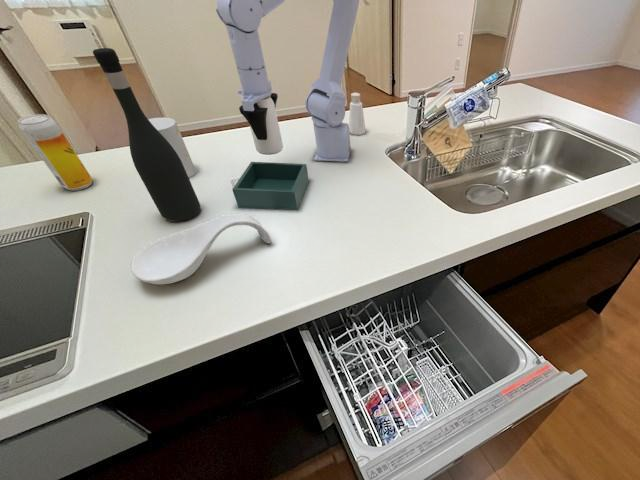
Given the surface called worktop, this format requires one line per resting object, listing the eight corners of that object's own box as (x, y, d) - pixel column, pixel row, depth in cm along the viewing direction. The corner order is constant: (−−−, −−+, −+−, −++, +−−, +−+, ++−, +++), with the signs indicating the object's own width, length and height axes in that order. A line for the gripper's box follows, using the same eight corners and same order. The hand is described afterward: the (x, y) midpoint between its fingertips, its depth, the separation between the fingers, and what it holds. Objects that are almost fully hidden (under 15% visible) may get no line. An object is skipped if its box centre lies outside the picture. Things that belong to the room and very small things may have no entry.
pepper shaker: (345, 132, 111) (342, 94, 103) (355, 127, 114) (353, 89, 106) (359, 136, 109) (357, 97, 101) (369, 131, 112) (368, 93, 104)
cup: (201, 173, 89) (181, 124, 80) (169, 184, 85) (144, 133, 76) (187, 162, 93) (166, 114, 84) (155, 172, 88) (130, 123, 80)
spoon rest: (149, 304, 58) (126, 273, 53) (133, 267, 64) (111, 235, 59) (280, 252, 69) (272, 221, 64) (256, 224, 75) (246, 194, 70)
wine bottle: (158, 210, 77) (70, 46, 55) (196, 199, 80) (126, 42, 59) (167, 227, 73) (75, 58, 51) (206, 216, 76) (136, 52, 54)
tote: (309, 180, 89) (306, 163, 85) (297, 209, 79) (294, 192, 76) (255, 178, 88) (251, 161, 85) (238, 207, 79) (232, 189, 76)
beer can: (100, 182, 84) (58, 116, 73) (77, 193, 80) (29, 126, 69) (81, 177, 85) (37, 111, 75) (57, 188, 81) (7, 121, 71)
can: (287, 145, 87) (276, 92, 79) (278, 156, 83) (266, 101, 74) (262, 143, 88) (249, 90, 79) (252, 154, 83) (237, 99, 75)
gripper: (243, 57, 78) (259, 121, 87) (218, 75, 68) (239, 145, 78) (274, 59, 78) (286, 122, 88) (255, 77, 68) (271, 146, 78)
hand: (266, 133), depth 83 cm, fingers closed on can, 6 cm apart
